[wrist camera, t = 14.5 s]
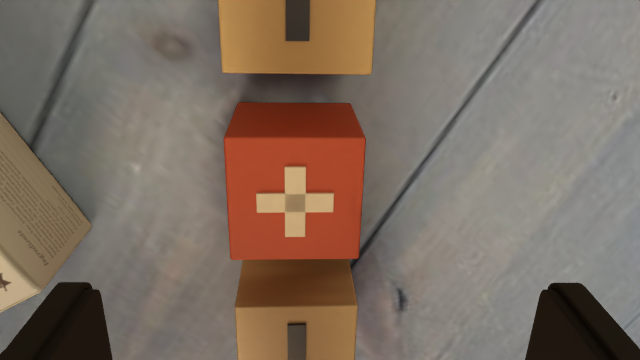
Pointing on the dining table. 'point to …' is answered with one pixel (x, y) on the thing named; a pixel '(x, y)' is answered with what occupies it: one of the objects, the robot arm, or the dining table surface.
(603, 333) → the robot arm
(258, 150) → the red cross cube
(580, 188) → the dining table surface
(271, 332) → the wooden letter t cube
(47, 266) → the small box
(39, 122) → the dining table surface
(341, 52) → the line block
